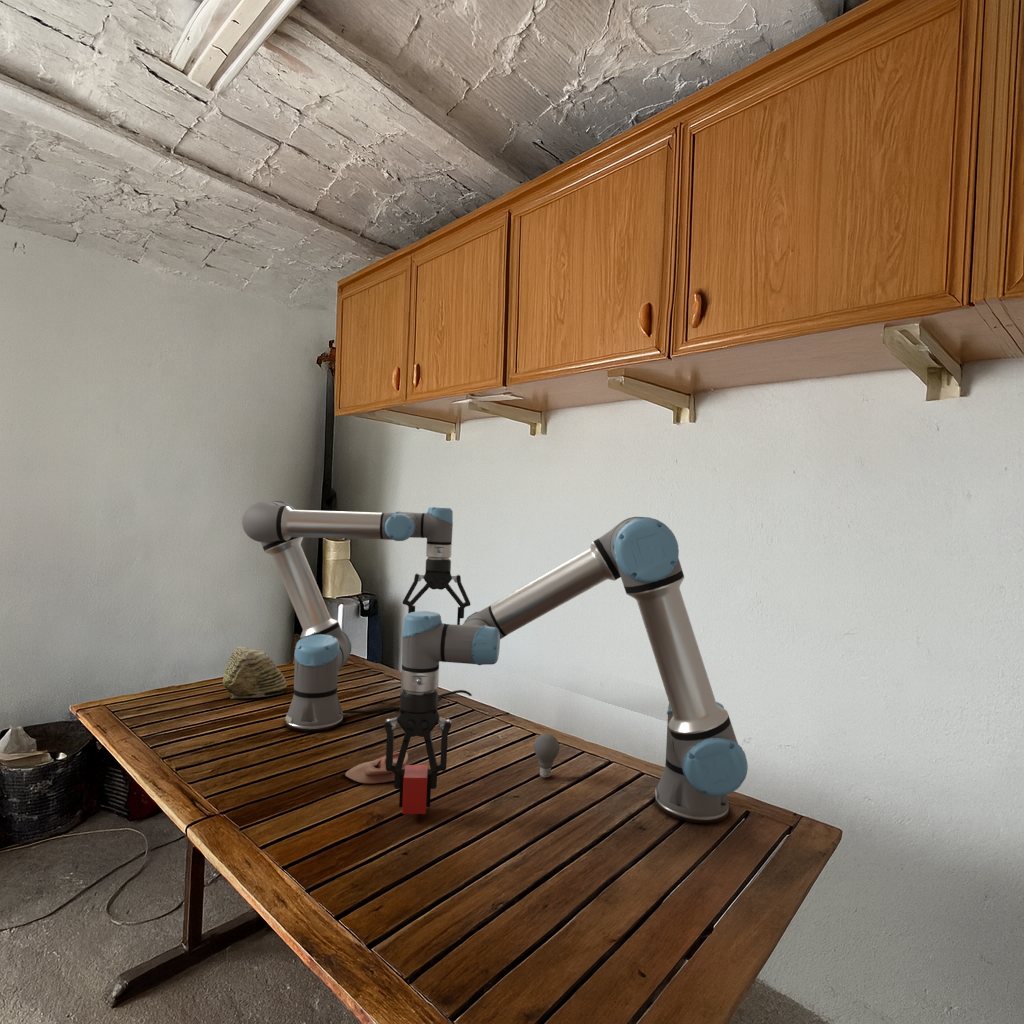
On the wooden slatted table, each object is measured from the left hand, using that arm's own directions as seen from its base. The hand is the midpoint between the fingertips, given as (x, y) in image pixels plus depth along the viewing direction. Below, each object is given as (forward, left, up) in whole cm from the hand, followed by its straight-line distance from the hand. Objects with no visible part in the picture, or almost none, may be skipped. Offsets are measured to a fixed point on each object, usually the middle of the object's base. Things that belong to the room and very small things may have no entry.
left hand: (435, 628), depth 191 cm
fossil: (+30, -48, -25) cm, 62 cm away
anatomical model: (+40, +23, -25) cm, 52 cm away
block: (+47, +43, -23) cm, 68 cm away
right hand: (+47, +43, -22) cm, 67 cm away
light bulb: (+14, +52, -25) cm, 59 cm away
